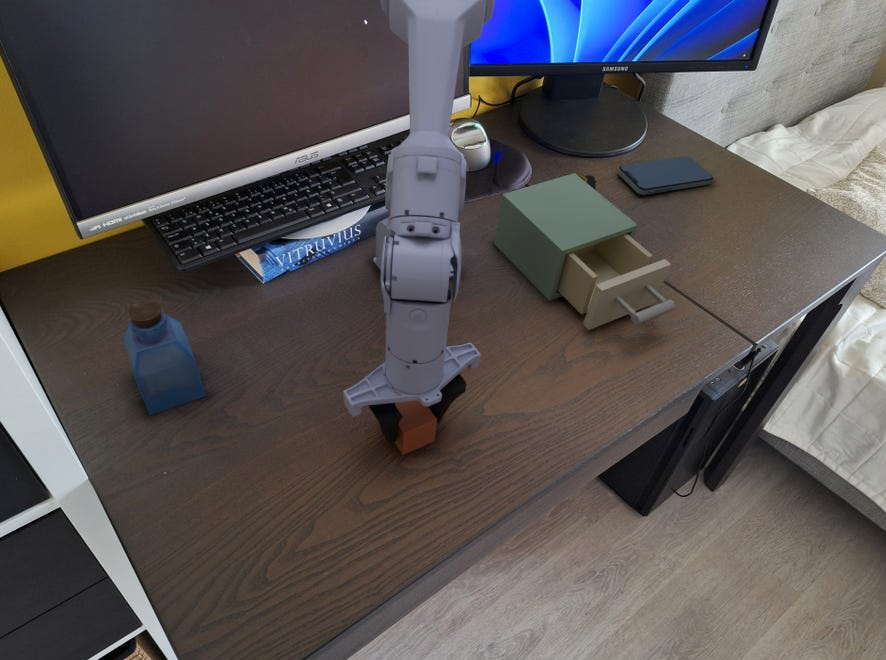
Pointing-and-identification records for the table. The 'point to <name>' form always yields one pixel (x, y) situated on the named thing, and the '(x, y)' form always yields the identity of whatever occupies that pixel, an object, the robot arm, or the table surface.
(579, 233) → the cabinet
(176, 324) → the perfume bottle
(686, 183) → the smartphone
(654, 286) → the drawer
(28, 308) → the table surface
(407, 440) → the block
